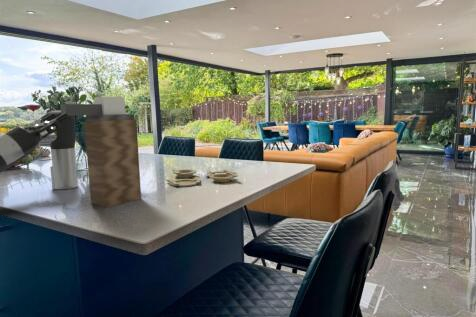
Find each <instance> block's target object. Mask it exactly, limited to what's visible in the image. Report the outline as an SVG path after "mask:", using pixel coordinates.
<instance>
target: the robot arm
mask: <svg viewBox="0 0 476 317" xmlns="http://www.w3.org/2000/svg"><path fill="white" fill-rule="evenodd" d="M76 126H77V125H76V119H75V115H67V113H64V114H62V115H61V110H51V111H48V112H46V113H45V114H44V115H42V116H41V117H40V118H39V119H36V120H34V121H32V122H31V123H29V124H28V125H26V126H25V127H22V126H20V125H18V126H15V127H14V128H12V129H11V130H8V131H7V132H5V133H4V134H2V135H0V174H1V173H3V172H4V171H6V170H7V169H9V168H10V167H13V166H14V165H16V164H17V163H18V162H20V161H22V160H23V159H25V158H26V157H28V156H29V155H31V154H32V153H34V151H35V150H36V149H37V148H38V146H39V143H41V141H42V140H43V139H46V138H47V137H48V136H50V135H52V134H55V133H56V138H55V139H54V140H52V141H50V155H51V164H52V165H51V166H50V177H51V178H50V179H51V180H50V181H51V188H52V189H55V190H69V189H74V188H75V189H76V188H77V187H79V183H78V182H79V181H78V170H77V169H78V168H77V158H76V148H75V147H76V146H75V144H76V141H77V135H76V134H77V132H76V130H77V129H76V128H77V127H76Z"/></svg>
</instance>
